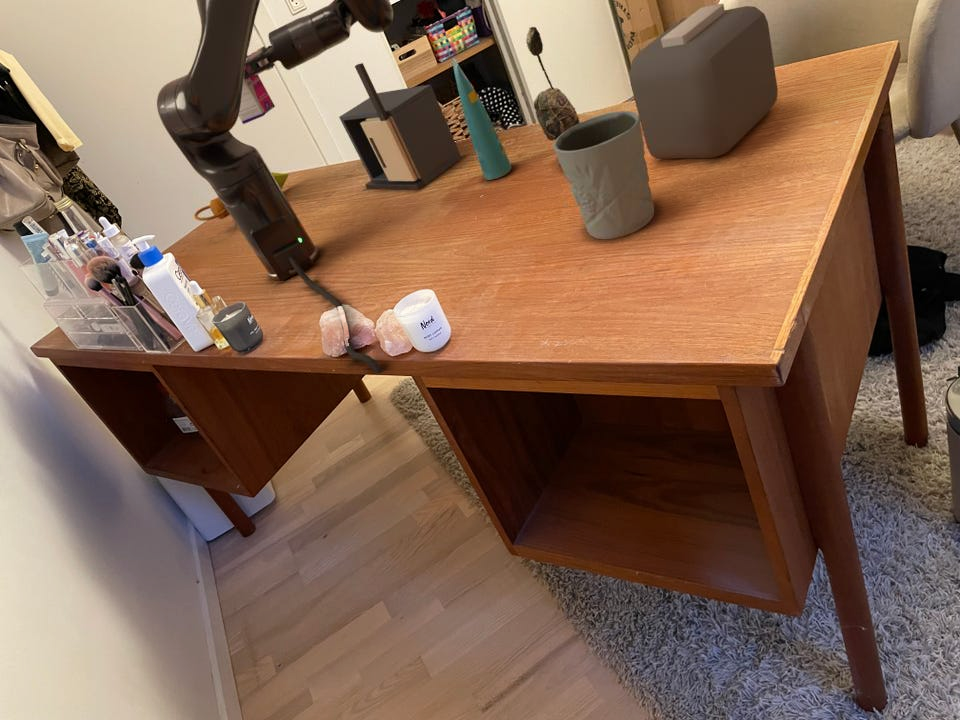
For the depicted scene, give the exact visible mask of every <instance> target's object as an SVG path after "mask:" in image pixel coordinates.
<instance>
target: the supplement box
mask: <svg viewBox="0 0 960 720" xmlns="http://www.w3.org/2000/svg"><path fill="white" fill-rule="evenodd" d="M248 56H249V54H247V57H248ZM247 57H246V58H247ZM245 69H246V71H247V72H248V73H249V72H250V70H249V68H248V66H245ZM275 107H276V105H275V103H274V101H273V100H272V99H271V96H270V95H269V93H268V91H267V89H266V87H265V85H264V83H263V82H262V79H261V78H260V76H259V74H258V75H255V76H251V77H249V78H248V79H244V81H243V90H242V99H241V107H240V112H239V116H238V119H239V120H240V122H241V123H242V125H245V124H247V123H250V122H253V121H254V120H257V119H261V118H262V117H265V115H266V114H267V113H269V112H270V111H271V110H272V109H274V108H275Z"/></svg>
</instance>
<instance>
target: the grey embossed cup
mask: <svg viewBox="0 0 960 720" xmlns="http://www.w3.org/2000/svg"><path fill="white" fill-rule="evenodd" d="M552 148H553V150H554V152H555V154H556V157H557V158H558V159H559V162H560V163H559V164H561V166H562V167H561V166H560V167H561V169H562V171H563V174H564V176H565V178H566V179H567V181H568V183H569V185H570V186H569V188H570V191H571V193H572V196H573V198H574V200H575V203H576V206H578V207H579V212H580V217H581V219H582V221H583V223H584V224H583V225H584V226H585V229H586V231H587V233H588V234H589V235H590V236H591V237H592V238H594V239H598V240H612V239H617V238H618V239H619V238H622V237H625V236H628V235H631V234H634V233H635V232H637V231H639V230H641V229H642V228H644V227H645V226H646V225H647V224H649V222H650V221H651V220H652V219H653V217H654V216H655V204H654V198H653V195H652V189H651V187H650V184H649V181H650V176H649V169H648V165H647V160H646V158H645V155H646V153H645V146H644V139H643V130H642V126H641V122H640V118H639V114H638V113H636V112H634V111H630V110H622V111H621V110H620V111H613V112H608V113H604V114H600V115H597V116H595V117H591V118H589V119H586V120H583V121H581V122H580V123H579V124H577V125H575V126H573V127H571V128H570V129H568V130H566V131H565V132H564V133H562V134H561V135H560V136H559V137H558V138H557V139H556V140H554V142H553V147H552Z"/></svg>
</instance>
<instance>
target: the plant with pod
mask: <svg viewBox="0 0 960 720" xmlns="http://www.w3.org/2000/svg"><path fill="white" fill-rule="evenodd" d="M525 41H526V47H527V49H528V51H529V52H530V54H531V55H532V56H534V57H537V60H538V63H539V65H540V67H541V69H542V71H543V73H544V75H545V78H546V80H547V82H548V84H549V87H548V88H546V89H545V90H543V91H540V92H539V94H537V96H536V97H535V99H534V100H533V108H534V110H535V116H536V119H537V122H538V123H539V126H540V127H541V129H542V132H543V134H544V135H545V136H546V139H547V140H549V141H551V142H552V141H555V140H556V139H557V138H558V137H559V136H560V135H561V134H562V133H564V132H565V131H566V130H568V129H570V128H571V127H573V126H575V125H577V124H579V123H581V122H580V117H579V115H578V113H577V110H576V108H575V106H574V105H573V104H572V103H571V101H570V100H569V98H568V97H567V95H566V94H565V93H564V92H562V90H561V89H560V88H558V87H557V88H556V87H554V86H553V84H552V81H551V80H550V78H549V76H548V74H547V71H546V69H545V67H544V64H543V62H542V61H543V60H542V58H541V54H542V53H543V50H544V44H543V41H542V37H541V33H540V32H539V30H538V29H537V27H536V26H531V27H529V28H528V31H527V34H526V39H525ZM555 161H556V162H557V164H558V166H559V167H561V168H562V166H561V164H560V162H559V159H558V157H557V158H555Z"/></svg>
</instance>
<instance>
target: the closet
mask: <svg viewBox="0 0 960 720" xmlns="http://www.w3.org/2000/svg"><path fill="white" fill-rule="evenodd" d="M377 94H378V97H379V99H380V101H381V103H382V105H383V107H384V109H385V111H386V114H387V116H388V118H389V120H390V122H391V124H392V126H393V129H394V131H395V133H396V135H397V137H398V139H399V141H400V143H401V146H402V148H403V150H404V152H405V154H406V156H407V158H408V160H409V163H410V165H411V167H412V169H413V171H414V173H415V175H416V177H417V180H416V181H389V180H388V178H387V176H386V174H385V172H384V170H383V168H382V166H381V164H380V162H379V160H378V158H377V156H376V154H375V152H374V150H373V148H372V146H371V144H370V142H369V140H368V138H367V136H366V134H365V132H364V130H363V128H362V126H361V124H360V123H361V122H363V121H371V120H380V118H379V116H378V114H377V112H376V110H375V108H374V106H373V104H372V102H371V100H370V97H368V98H367V99H365V100H364V101H362V102H360V103H359V104H357V105H356V106H354V107H352V108H350V109H349V110H347V111H346V112H345V113H343V114H342V115H340V116H339V117H338V118H339V120H340V122H341V124H342V126H343V128H344V130H345V132H346V134H347V136H348V138H349V139H350V142H351V144H352V145H353V147H354V149H355V151H356V153H357V155H358V157H359V159H360V161H361V163H362V165H363V167H364V170H365V171H366V173H367V176H368V177H369V179H370V180H369V181H368V182H367V183H364V186H365V187H366V189H373V190H374V189H375V190H376V189H377V190H378V189H379V190H382V189H383V190H405V191H406V190H409V191H412V190H413V191H419V190H421V189H422V188H424V187H425V186H426V185H428V184H429V183H431V182H432V181H433V180H435V179H436V178H438V177H439V176H440V175H441V174H443V173H444V172H445V171H447V170H448V169H449V168H451V167H453V165H454V164H456V163H458V161H460V160H461V159H462V158H463V157H462V155H461V153H460V150H459V147H458V146H457V143H456V141H455V139H454V136H453V134H452V131H451V130H450V127H449V125H448V121H447V120H446V117H445V115H444V113H443V110H442V109H441V105H440V103H439V101H438V98H437V96H436V94H435V91H434V89H433V87H432V85H431V84H426V85H419V86H414V87H406V88H401V89H394V90H389V91H382V92H377Z"/></svg>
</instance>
